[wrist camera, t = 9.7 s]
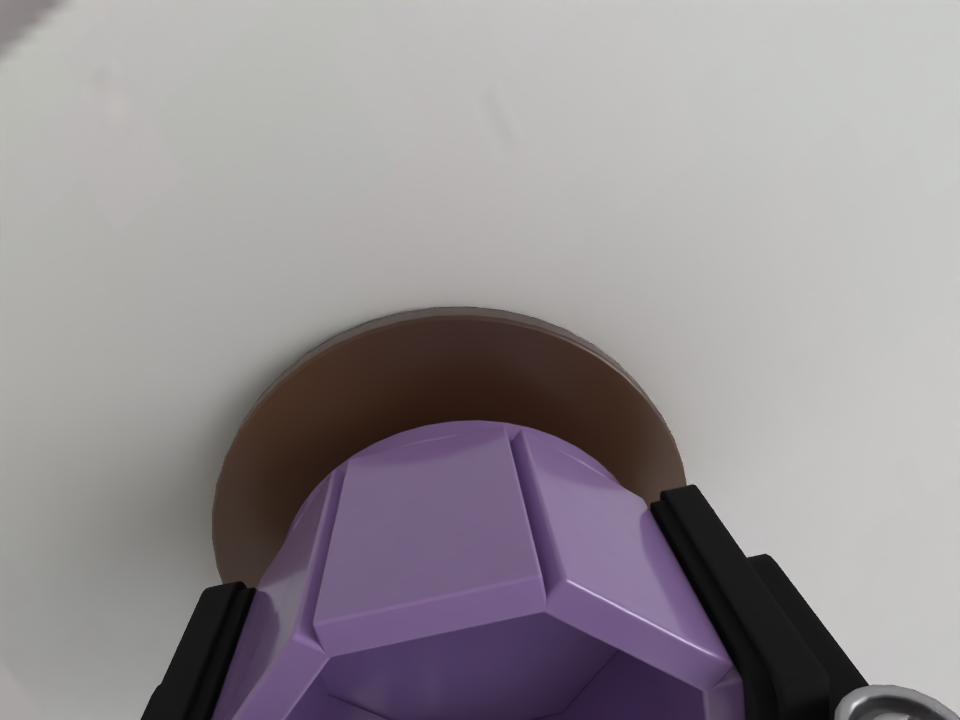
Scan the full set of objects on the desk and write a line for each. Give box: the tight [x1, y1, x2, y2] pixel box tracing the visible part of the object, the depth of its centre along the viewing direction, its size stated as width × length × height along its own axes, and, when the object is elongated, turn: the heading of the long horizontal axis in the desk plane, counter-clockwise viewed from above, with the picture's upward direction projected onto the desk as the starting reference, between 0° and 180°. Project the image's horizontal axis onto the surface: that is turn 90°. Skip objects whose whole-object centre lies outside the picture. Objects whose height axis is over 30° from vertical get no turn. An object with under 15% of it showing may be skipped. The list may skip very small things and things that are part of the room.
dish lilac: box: [211, 420, 746, 720], centre depth 10 cm, size 6×6×4 cm
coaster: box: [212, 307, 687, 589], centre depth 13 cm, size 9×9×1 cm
